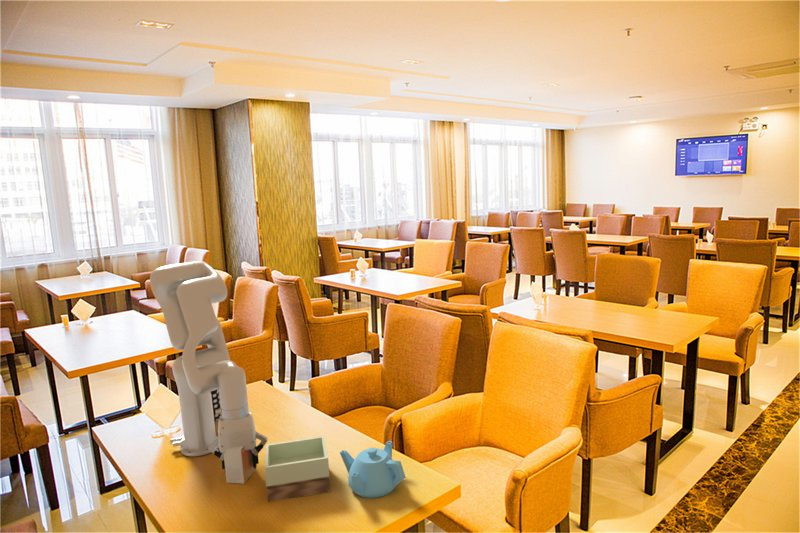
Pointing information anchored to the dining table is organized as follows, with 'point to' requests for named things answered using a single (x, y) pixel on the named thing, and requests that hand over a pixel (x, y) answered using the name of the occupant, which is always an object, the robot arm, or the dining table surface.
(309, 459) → the upper crate
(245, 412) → the robot arm
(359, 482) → the teapot
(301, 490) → the lower crate
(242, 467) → the small box
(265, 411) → the dining table surface
